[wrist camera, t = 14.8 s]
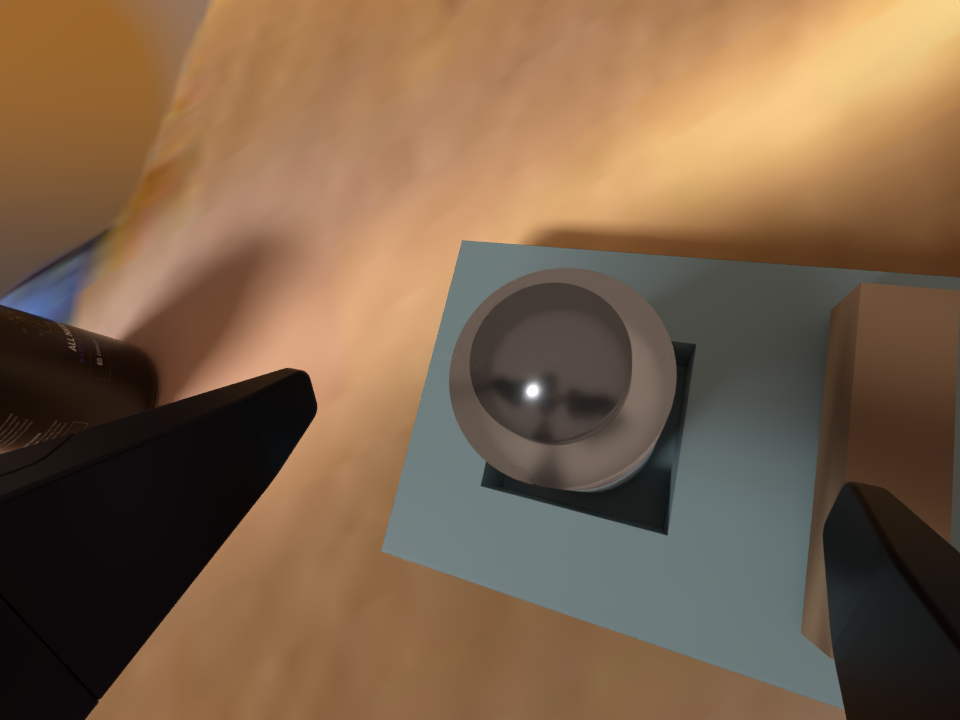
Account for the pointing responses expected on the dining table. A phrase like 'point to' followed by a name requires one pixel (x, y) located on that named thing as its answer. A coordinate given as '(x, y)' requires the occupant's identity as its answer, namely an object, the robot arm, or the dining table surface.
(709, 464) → the socket
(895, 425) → the lock bar
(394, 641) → the dining table surface
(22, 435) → the supplement bottle
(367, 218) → the dining table surface
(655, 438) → the grey cylindrical piece
